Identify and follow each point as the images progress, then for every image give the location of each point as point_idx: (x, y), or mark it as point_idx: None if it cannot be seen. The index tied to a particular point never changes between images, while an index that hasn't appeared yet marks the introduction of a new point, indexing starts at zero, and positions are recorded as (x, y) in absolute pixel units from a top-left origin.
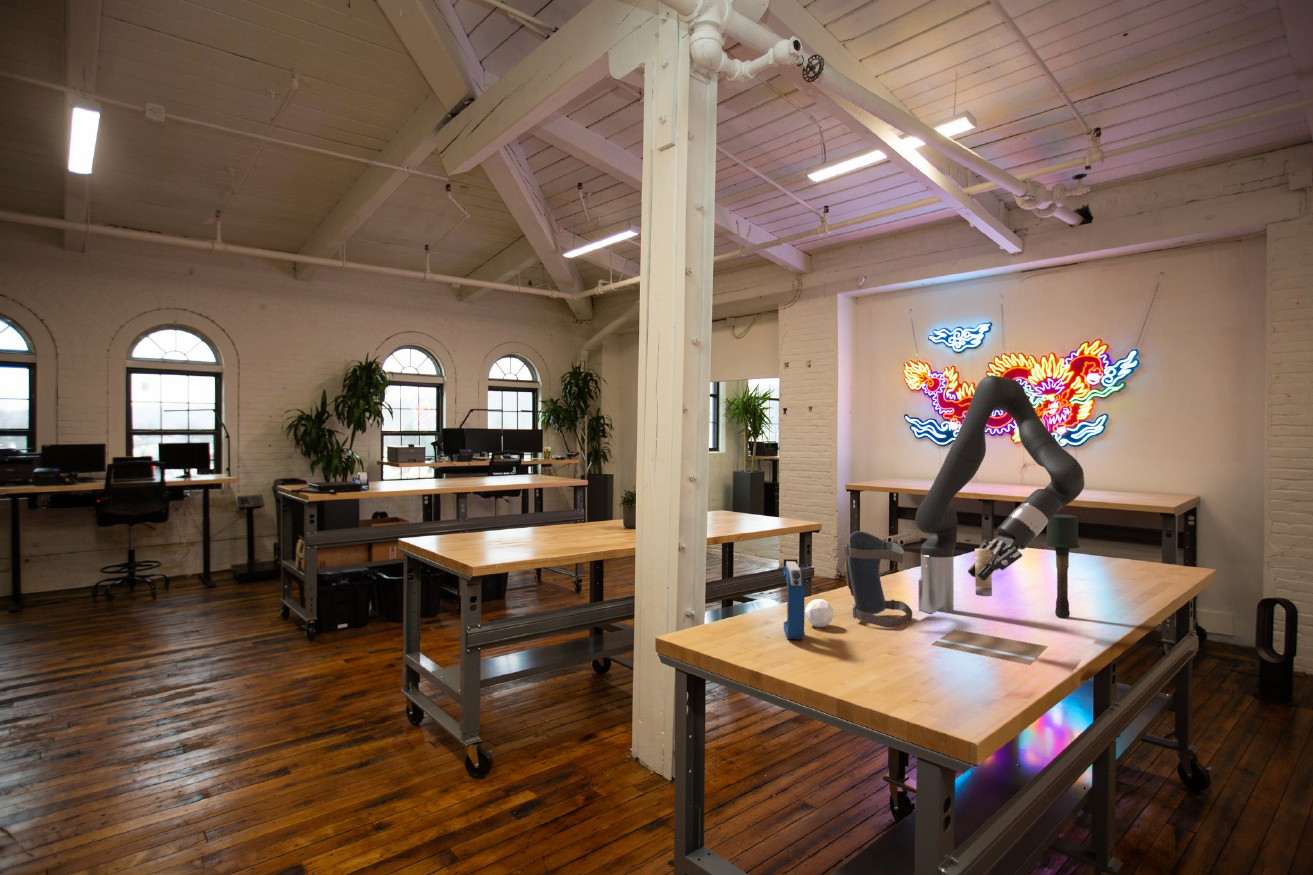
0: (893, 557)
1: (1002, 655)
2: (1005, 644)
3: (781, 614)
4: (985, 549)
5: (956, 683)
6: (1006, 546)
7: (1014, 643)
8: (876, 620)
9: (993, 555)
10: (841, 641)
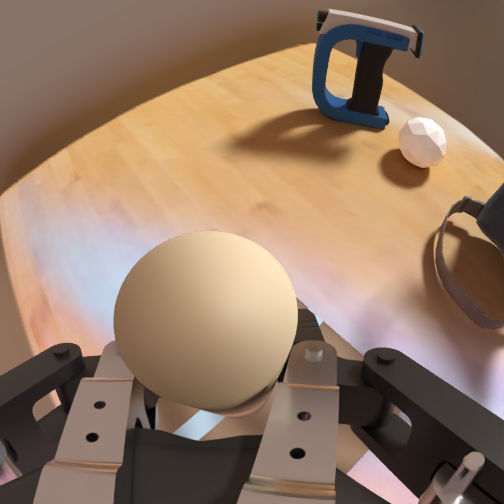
0: None
1: (182, 409)
2: None
3: (459, 139)
4: (217, 352)
5: (100, 249)
6: (14, 495)
7: None
8: (440, 235)
9: (110, 378)
10: (333, 160)
